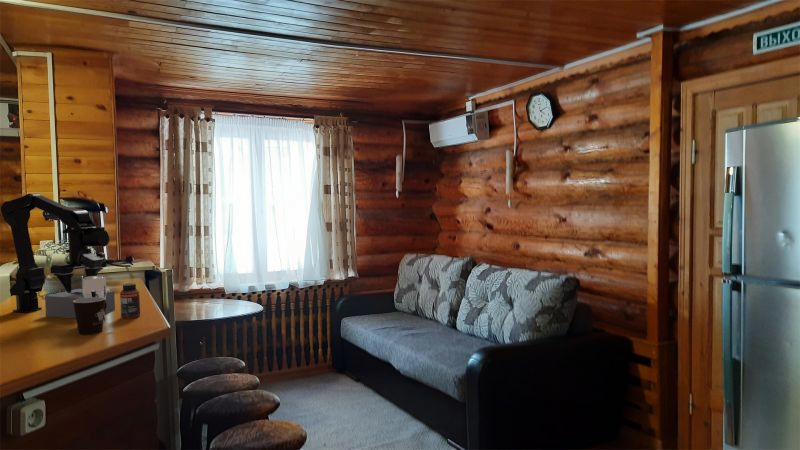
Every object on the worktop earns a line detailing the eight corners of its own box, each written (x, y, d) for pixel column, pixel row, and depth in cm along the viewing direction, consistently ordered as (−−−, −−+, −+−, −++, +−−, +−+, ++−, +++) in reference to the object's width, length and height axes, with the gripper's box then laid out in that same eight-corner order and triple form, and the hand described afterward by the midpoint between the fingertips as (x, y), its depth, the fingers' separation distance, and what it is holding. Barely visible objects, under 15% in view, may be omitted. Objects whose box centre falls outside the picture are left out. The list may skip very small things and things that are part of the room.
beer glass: (97, 325, 183) (95, 279, 182) (78, 324, 184) (76, 278, 183) (112, 320, 190) (110, 275, 189) (94, 319, 191) (92, 275, 190)
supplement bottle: (134, 314, 199) (133, 282, 198) (143, 316, 196) (142, 283, 195) (117, 317, 194) (116, 284, 194) (126, 319, 191) (125, 286, 190)
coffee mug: (84, 337, 169) (83, 303, 168) (68, 333, 174) (67, 300, 173) (121, 328, 179) (120, 297, 178) (105, 325, 183) (104, 294, 183)
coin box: (45, 316, 197) (45, 295, 196) (79, 307, 210) (78, 288, 209) (83, 319, 192) (82, 298, 192) (115, 310, 205) (114, 290, 205)
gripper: (74, 249, 188) (76, 296, 189) (117, 244, 206) (119, 287, 207) (48, 248, 191) (50, 295, 192) (92, 243, 209) (94, 285, 210)
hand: (80, 290), depth 200 cm, fingers open, 9 cm apart
